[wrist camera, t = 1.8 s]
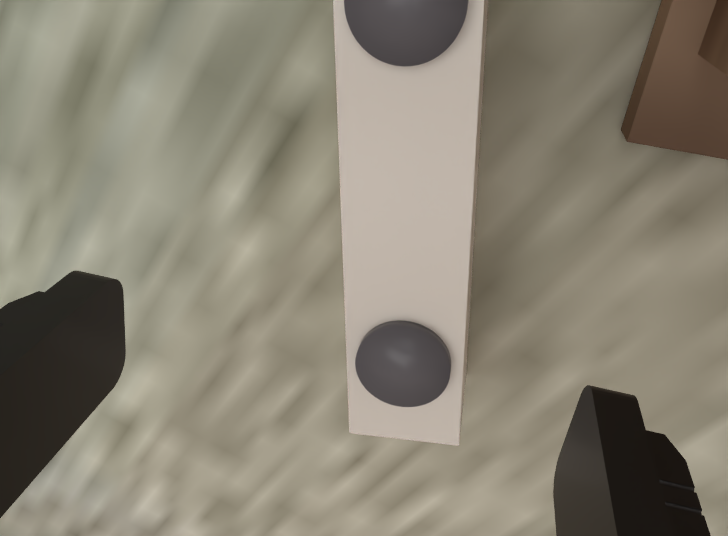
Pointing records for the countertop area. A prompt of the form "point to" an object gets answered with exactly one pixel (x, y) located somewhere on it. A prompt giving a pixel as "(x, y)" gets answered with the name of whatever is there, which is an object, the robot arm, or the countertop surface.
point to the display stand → (683, 81)
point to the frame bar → (408, 207)
